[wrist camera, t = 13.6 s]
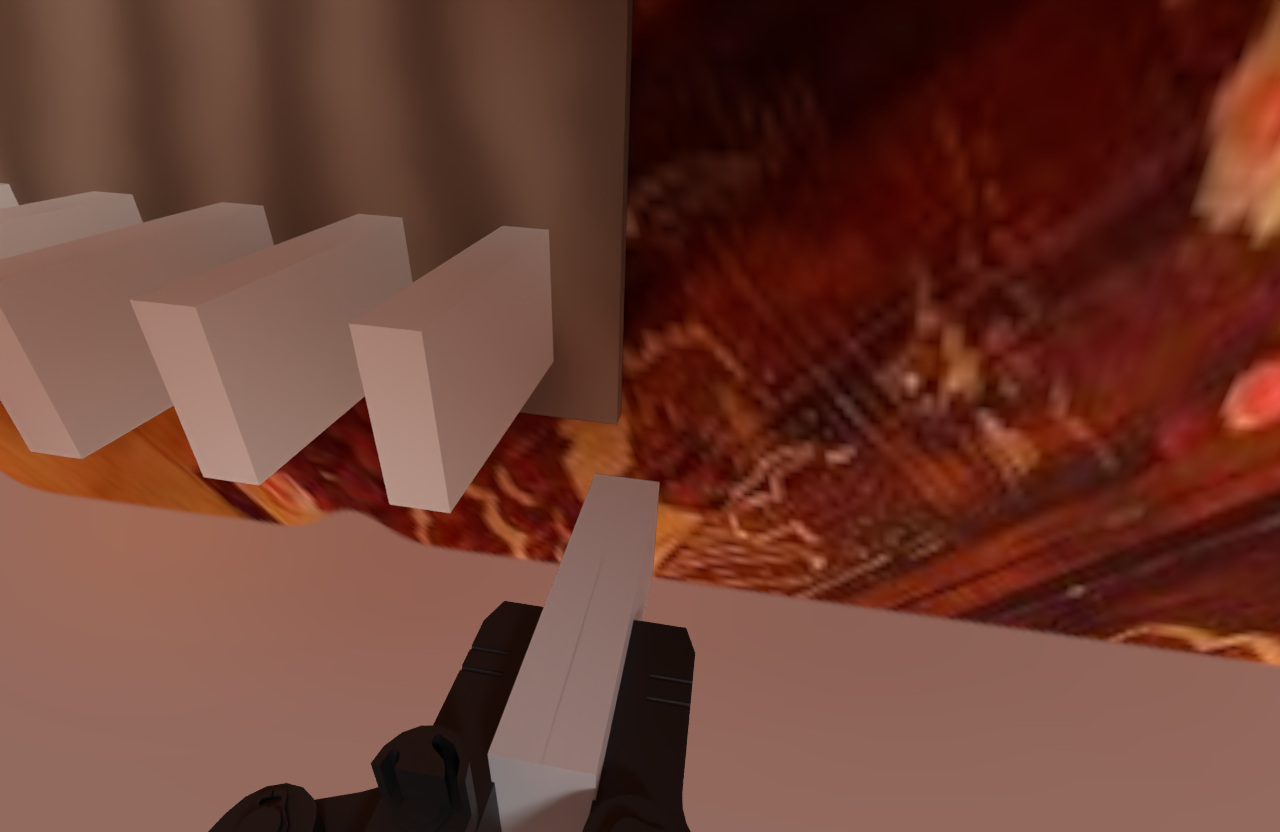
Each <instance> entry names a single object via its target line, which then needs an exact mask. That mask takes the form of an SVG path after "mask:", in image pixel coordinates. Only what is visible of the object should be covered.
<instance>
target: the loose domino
mask: <svg viewBox="0 0 1280 832" xmlns="http://www.w3.org/2000/svg"><path fill="white" fill-rule="evenodd" d="M349 327H350V331H351V336H352V340H353V345H354V349H355V354H356V358H357V363H358V367H359V371H360V376H361V380H362V385H363V389H364V394H365V398H366V403H367V407H368V412H369V416H370V420H371V425H372V429H373V434H374V438H375V443H376V447H377V452H378V456H379V461H380V465H381V469H382V474H383V478H384V483H385V487H386V492H387V496H388V501H389V504H390V505H397V506H404V507H411V508H418V509H424V510H431V511H438V512H445V513H451V512H452V510H453V509H454V507H455V506H456V504H457V503H458V501H459V500H460V498H461V497H462V495H463V494H464V492H465V491H466V489H467V488H468V487H469V485H470V484H471V482H472V481H473V479H474V478H475V476H476V475H477V473H478V472H479V470H480V469H481V467H482V466H483V465H484V463H485V462H486V460H487V459H488V457H489V456H490V454H491V453H492V451H493V450H494V448H495V447H496V445H497V444H498V442H499V441H500V440H501V438H502V437H503V435H504V434H505V432H506V431H507V429H508V428H509V426H510V425H511V423H512V422H513V420H514V419H515V417H516V416H517V415H518V413H519V412H520V410H521V409H522V407H523V406H524V404H525V403H526V401H527V400H528V398H529V397H530V395H531V394H532V392H533V391H534V390H535V388H536V387H537V385H538V384H539V382H540V381H541V379H542V378H543V376H544V375H545V373H546V372H547V370H548V369H549V367H550V366H551V365H552V363H553V362H554V357H553V330H552V303H551V275H550V248H549V230H547V229H535V228H523V227H512V226H501V227H500V228H498V229H496V230H495V231H493V232H492V233H490V234H489V235H487V236H485V237H484V238H482V239H481V240H479V241H478V242H476V243H474V244H473V245H471V246H470V247H468V248H467V249H465V250H463V251H462V252H460V253H459V254H457V255H456V256H454V257H452V258H451V259H449V260H448V261H446V262H445V263H443V264H441V265H440V266H438V267H437V268H435V269H434V270H432V271H430V272H429V273H427V274H426V275H424V276H423V277H421V278H419V279H418V280H416V281H415V282H413V283H412V284H410V285H408V286H407V287H405V288H404V289H402V290H401V291H399V292H397V293H396V294H394V295H393V296H391V297H390V298H388V299H386V300H385V301H383V302H382V303H380V304H379V305H377V306H375V307H374V308H372V309H371V310H369V311H368V312H366V313H364V314H363V315H361V316H360V317H358V318H357V319H355V320H353V321H352V322H350V323H349Z"/></svg>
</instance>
